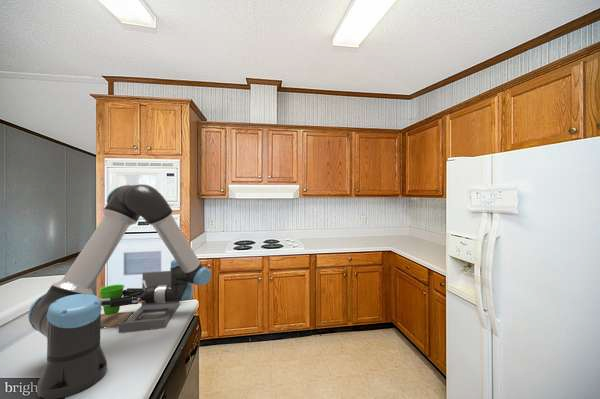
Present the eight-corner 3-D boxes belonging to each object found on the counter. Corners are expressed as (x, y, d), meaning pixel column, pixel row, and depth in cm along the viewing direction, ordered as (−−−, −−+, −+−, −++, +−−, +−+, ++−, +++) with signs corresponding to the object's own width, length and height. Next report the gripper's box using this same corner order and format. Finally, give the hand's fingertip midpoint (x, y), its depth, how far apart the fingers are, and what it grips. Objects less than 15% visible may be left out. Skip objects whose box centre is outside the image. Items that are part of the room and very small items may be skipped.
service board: (133, 313, 118) (134, 311, 118) (120, 326, 105) (120, 324, 105) (102, 316, 115) (102, 313, 115) (84, 330, 102) (84, 327, 102)
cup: (114, 317, 106) (114, 291, 106) (93, 317, 106) (93, 291, 106) (129, 308, 115) (129, 284, 115) (109, 308, 115) (109, 284, 115)
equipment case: (179, 304, 128) (180, 270, 129) (164, 328, 104) (165, 285, 104) (143, 307, 125) (143, 272, 125) (118, 332, 100) (119, 288, 100)
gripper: (147, 312, 104) (84, 318, 99) (164, 294, 125) (112, 298, 120) (147, 294, 104) (84, 299, 99) (164, 279, 125) (112, 282, 120)
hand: (100, 298), depth 109 cm, fingers closed on cup, 9 cm apart
